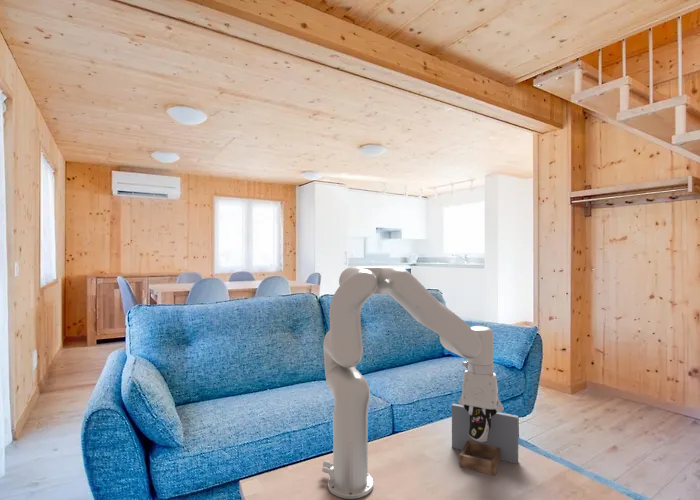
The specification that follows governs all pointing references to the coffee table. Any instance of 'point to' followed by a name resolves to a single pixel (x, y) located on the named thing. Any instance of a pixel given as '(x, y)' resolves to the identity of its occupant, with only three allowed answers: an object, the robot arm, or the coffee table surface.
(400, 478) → the coffee table surface
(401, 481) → the coffee table surface
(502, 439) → the wall board
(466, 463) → the brown wooden open box
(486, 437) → the beverage can
